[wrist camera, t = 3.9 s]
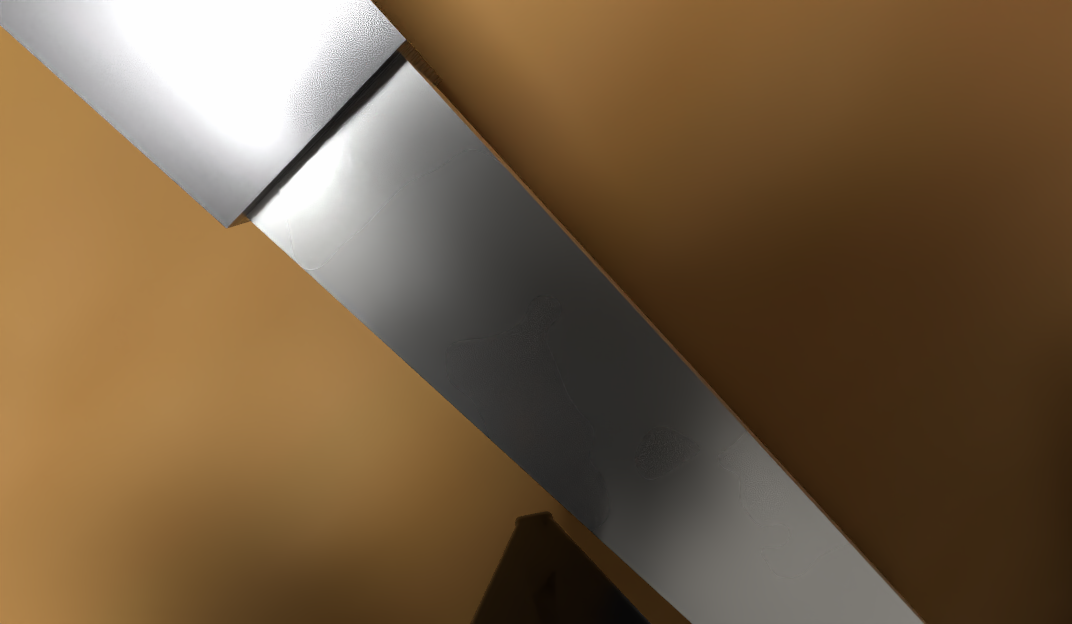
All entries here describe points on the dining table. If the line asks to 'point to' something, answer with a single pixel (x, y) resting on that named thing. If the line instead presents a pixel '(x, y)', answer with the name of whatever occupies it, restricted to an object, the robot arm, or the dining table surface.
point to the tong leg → (461, 283)
